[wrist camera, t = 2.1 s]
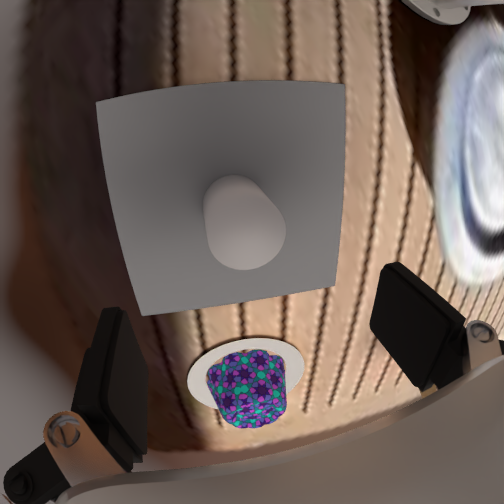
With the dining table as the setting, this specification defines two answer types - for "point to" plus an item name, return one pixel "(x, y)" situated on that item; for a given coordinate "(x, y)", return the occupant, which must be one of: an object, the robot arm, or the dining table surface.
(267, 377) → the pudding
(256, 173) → the lid
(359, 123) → the dining table surface
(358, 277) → the dining table surface
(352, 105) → the dining table surface
